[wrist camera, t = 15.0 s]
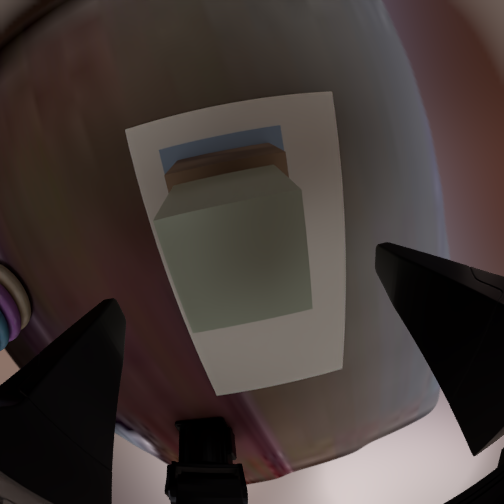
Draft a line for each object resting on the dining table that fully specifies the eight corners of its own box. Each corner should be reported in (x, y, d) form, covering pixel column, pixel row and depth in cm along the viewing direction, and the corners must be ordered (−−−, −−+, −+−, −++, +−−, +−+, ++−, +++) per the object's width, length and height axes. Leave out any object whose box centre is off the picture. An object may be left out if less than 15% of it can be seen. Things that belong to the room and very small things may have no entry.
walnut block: (197, 242, 21) (192, 279, 16) (177, 160, 18) (164, 175, 13) (280, 226, 21) (297, 258, 16) (268, 142, 18) (285, 151, 14)
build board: (216, 390, 30) (216, 397, 29) (128, 129, 17) (123, 129, 16) (340, 363, 30) (342, 369, 29) (327, 91, 18) (333, 91, 17)
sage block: (198, 272, 16) (193, 333, 12) (173, 185, 14) (152, 220, 9) (286, 254, 16) (312, 308, 12) (273, 164, 14) (301, 189, 9)
